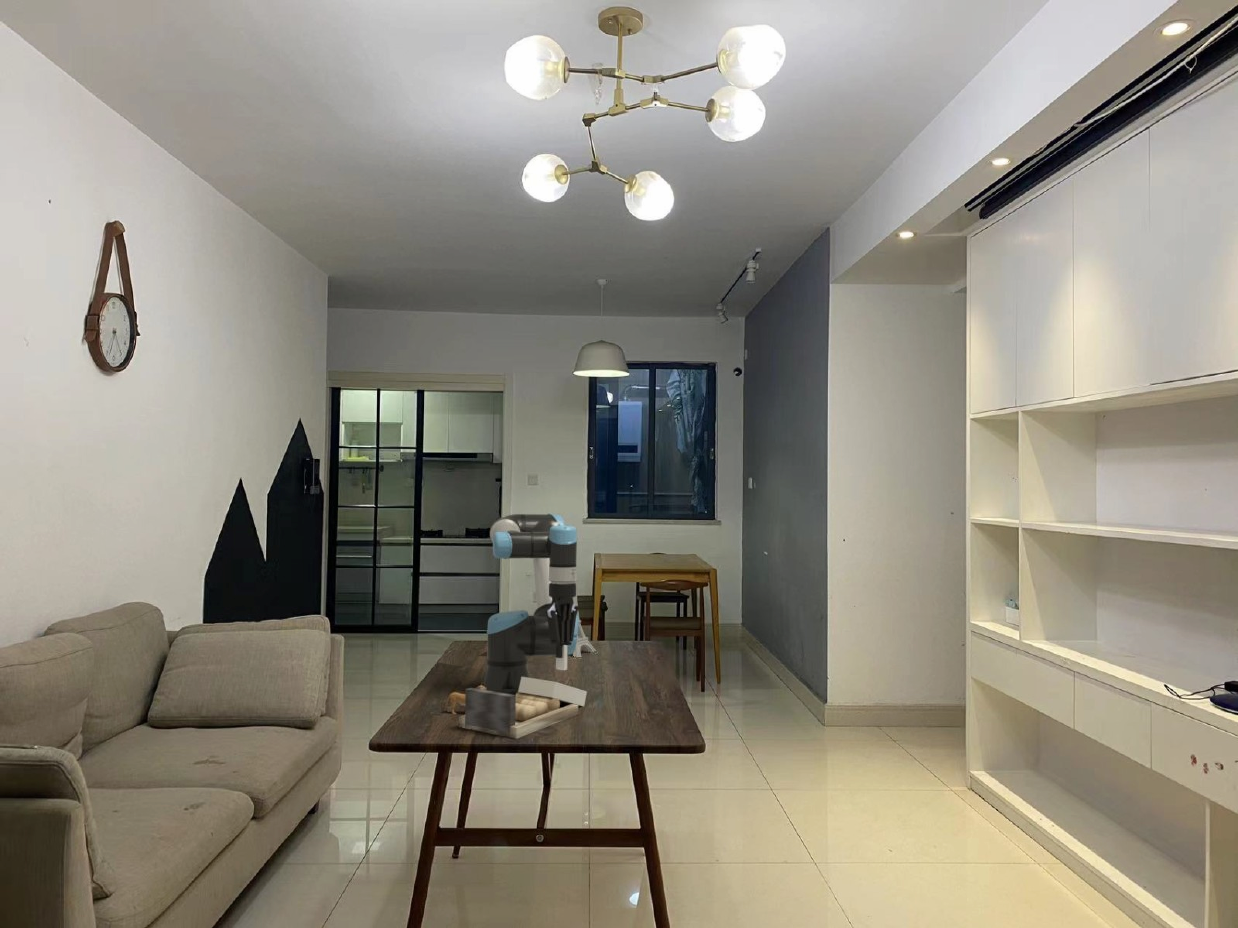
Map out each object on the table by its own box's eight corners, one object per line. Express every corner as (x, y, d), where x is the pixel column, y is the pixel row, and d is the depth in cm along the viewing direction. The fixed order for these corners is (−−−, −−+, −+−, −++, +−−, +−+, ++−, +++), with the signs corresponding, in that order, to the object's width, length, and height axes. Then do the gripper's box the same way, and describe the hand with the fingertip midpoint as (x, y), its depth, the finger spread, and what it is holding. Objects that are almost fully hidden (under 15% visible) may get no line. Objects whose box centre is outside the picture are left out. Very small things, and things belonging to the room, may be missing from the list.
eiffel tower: (578, 660, 294) (579, 573, 295) (547, 656, 301) (548, 571, 302) (598, 654, 306) (599, 571, 307) (568, 650, 313) (569, 569, 314)
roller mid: (503, 715, 219) (499, 703, 217) (512, 704, 222) (507, 693, 220) (541, 722, 213) (537, 710, 211) (549, 711, 216) (545, 699, 214)
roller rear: (519, 689, 225) (524, 699, 227) (511, 700, 222) (517, 711, 224) (556, 694, 219) (561, 705, 220) (549, 706, 216) (554, 717, 217)
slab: (518, 691, 223) (521, 676, 224) (551, 700, 236) (554, 686, 237) (552, 697, 217) (555, 681, 219) (584, 706, 230) (586, 691, 231)
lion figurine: (487, 711, 223) (487, 683, 224) (485, 716, 219) (486, 687, 219) (442, 711, 223) (442, 683, 223) (439, 716, 218) (439, 687, 219)
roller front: (491, 719, 214) (488, 705, 213) (501, 710, 218) (497, 696, 217) (529, 726, 208) (526, 712, 207) (538, 717, 212) (535, 703, 210)
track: (458, 727, 208) (459, 688, 209) (523, 705, 230) (523, 670, 231) (516, 738, 199) (517, 698, 199) (578, 714, 221) (578, 678, 221)
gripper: (560, 585, 224) (559, 675, 223) (587, 581, 235) (586, 667, 234) (537, 583, 228) (536, 671, 226) (564, 579, 239) (563, 664, 238)
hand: (561, 669), depth 230 cm, fingers closed
